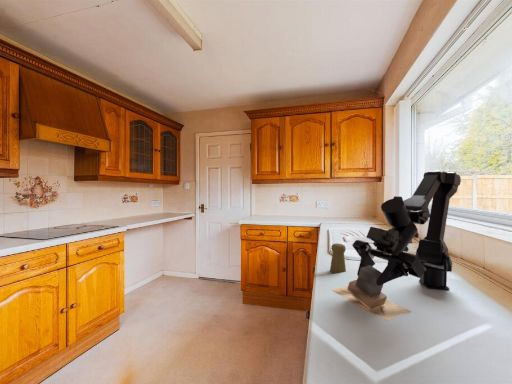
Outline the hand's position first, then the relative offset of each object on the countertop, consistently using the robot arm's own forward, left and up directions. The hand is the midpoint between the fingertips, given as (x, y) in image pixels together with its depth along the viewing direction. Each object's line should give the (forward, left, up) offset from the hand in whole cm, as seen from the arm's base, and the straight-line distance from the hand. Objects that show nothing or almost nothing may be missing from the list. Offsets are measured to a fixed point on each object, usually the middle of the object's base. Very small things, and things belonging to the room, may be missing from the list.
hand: (367, 280), depth 66 cm
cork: (+3, -30, -8) cm, 31 cm away
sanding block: (0, -3, -6) cm, 7 cm away
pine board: (-1, -5, -8) cm, 10 cm away
